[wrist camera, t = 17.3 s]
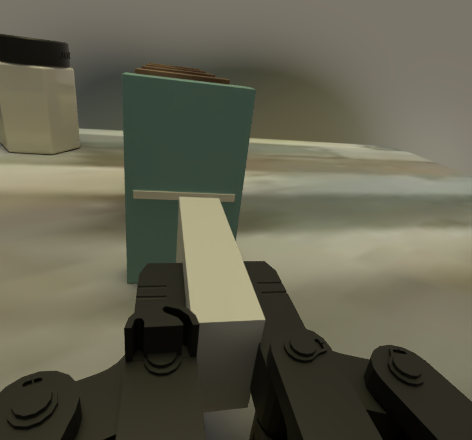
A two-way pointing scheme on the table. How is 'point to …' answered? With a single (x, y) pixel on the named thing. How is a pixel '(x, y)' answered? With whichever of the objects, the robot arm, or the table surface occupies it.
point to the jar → (37, 96)
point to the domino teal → (179, 157)
